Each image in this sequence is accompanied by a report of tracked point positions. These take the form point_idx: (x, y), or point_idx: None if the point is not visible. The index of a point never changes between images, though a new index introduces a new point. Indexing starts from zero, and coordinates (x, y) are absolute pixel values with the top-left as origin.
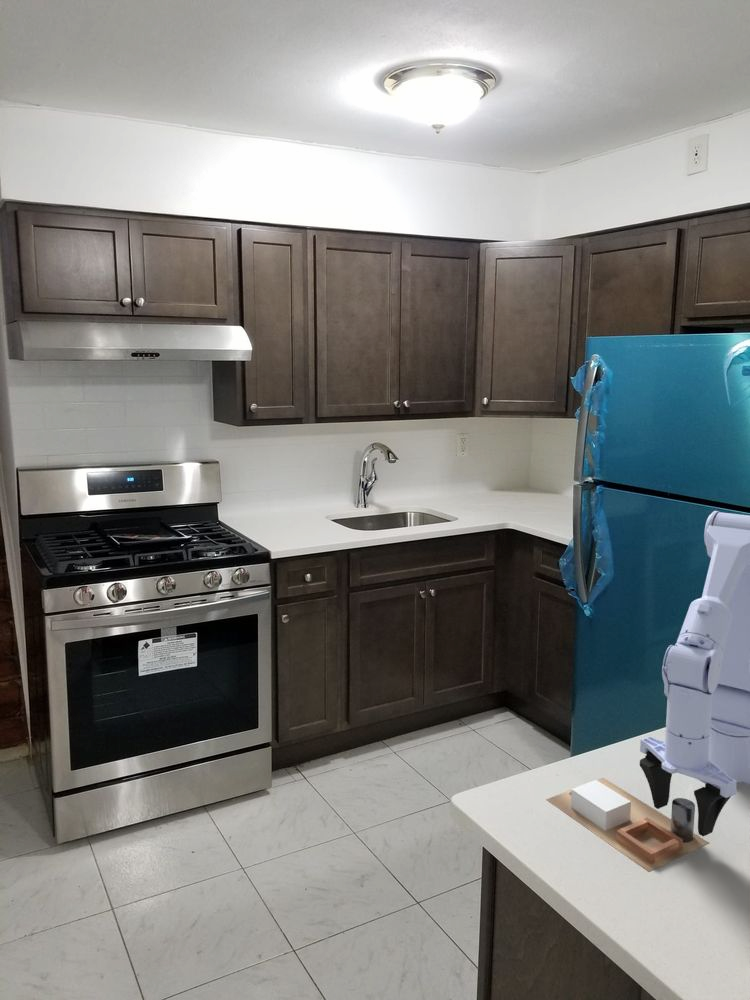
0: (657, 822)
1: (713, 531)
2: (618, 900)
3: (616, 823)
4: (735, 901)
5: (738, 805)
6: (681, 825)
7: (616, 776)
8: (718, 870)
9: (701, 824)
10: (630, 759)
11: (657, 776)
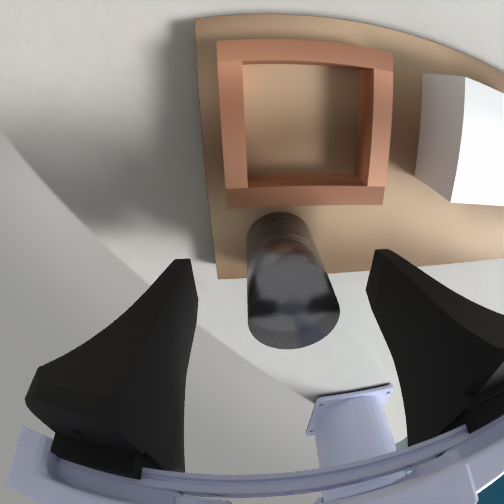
0: (361, 232)
1: None
2: None
3: (425, 120)
4: (54, 179)
5: (295, 388)
6: (264, 248)
7: (484, 286)
8: (147, 227)
9: (158, 282)
10: None
11: (443, 344)
